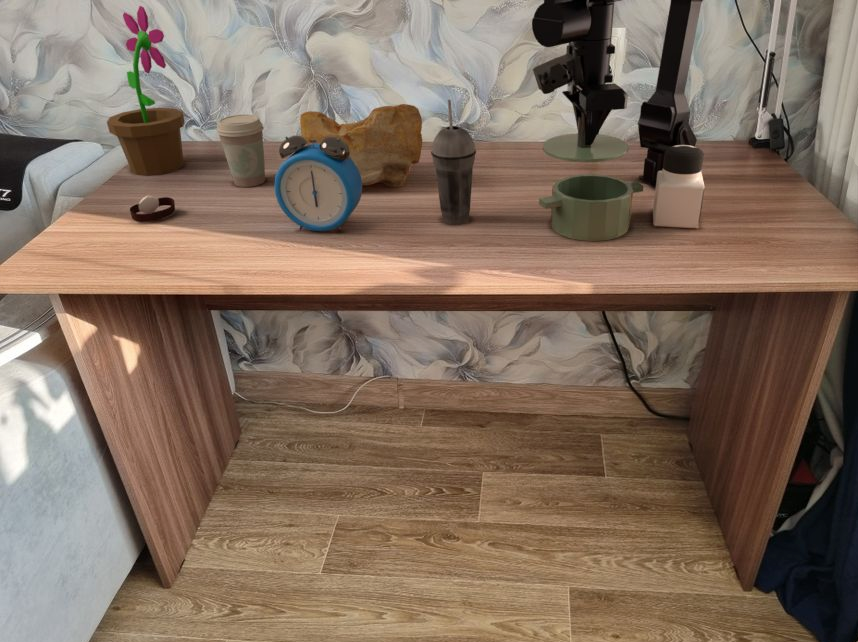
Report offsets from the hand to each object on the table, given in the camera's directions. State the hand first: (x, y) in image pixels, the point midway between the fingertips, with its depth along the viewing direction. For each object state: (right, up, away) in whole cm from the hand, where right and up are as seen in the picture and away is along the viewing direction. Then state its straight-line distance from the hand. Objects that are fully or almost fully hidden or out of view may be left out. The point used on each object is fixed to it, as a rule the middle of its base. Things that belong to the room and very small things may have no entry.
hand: (585, 142), depth 116 cm
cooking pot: (+1, -13, +4) cm, 13 cm away
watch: (-73, -10, +11) cm, 75 cm away
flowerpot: (-83, +5, +35) cm, 90 cm away
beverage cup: (-21, -11, +8) cm, 25 cm away
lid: (0, -1, +1) cm, 1 cm away
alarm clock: (-43, -13, +6) cm, 45 cm away
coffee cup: (-61, -1, +26) cm, 66 cm away
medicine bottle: (+16, -12, +5) cm, 20 cm away
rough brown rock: (-37, 0, +26) cm, 45 cm away
